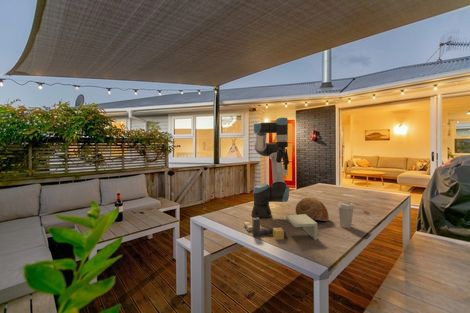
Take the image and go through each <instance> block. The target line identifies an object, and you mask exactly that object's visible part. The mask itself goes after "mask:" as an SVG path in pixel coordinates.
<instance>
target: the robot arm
mask: <svg viewBox="0 0 470 313" xmlns="http://www.w3.org/2000/svg"><path fill="white" fill-rule="evenodd" d="M288 128H289V121H288V117H277V118H276V119H275V121H274V122H273V121H271V122H270V121H269V122H255V123H254V124H253V133H254V134H256V135H255V137H256V139H255V144H254V149H255V151H256V153H257V154H258V155H260V156H261V157H262V156H263V157H268V158H269V159H270V160H271V171H272V172H271V173H272V183H271V186H270V184H268V183H263V184H257V185H254V186H253V192H252V194H253V207H252V210H251V217H252V218H255V217H256V218H257V217H259V219H260V218H264V219H269V218H271V217H272V210H271V207H270V203H287V202H288V201H289V199H290V187H289V186H288V185H287V184H288V183H287V182H285V177H284V176H288V174H289V172H288V170H289V168H288V166H289V164H290V161H289V160H290V159H289V152H288V146H289V142H288V141H289V134H288V133H289V129H288ZM267 134H275V135H276V136H275V138H276V142H266V141H267Z"/></svg>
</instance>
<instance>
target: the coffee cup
mask: <svg viewBox="0 0 470 313" xmlns="http://www.w3.org/2000/svg"><path fill="white" fill-rule="evenodd" d="M337 207H338V213H339V214H338V216H339V226H340V228H344V229H351V228H352V224H353V223H352V222H353V216H354V215H353V213H354V209H355V206H354V204H353V202H352V203H351V202H347V201H344V202H343V201H341V202H339V203H338V205H337Z"/></svg>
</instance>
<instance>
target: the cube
mask: <svg viewBox="0 0 470 313" xmlns="http://www.w3.org/2000/svg"><path fill="white" fill-rule="evenodd" d="M282 228H283V227H273V235H272V237H273V239H274V240H275V241H276V240H277V241H279V240H285V239H284V231H285V230H284V231H283V229H284V228H283V229H282Z"/></svg>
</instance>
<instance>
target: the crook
mask: <svg viewBox="0 0 470 313" xmlns="http://www.w3.org/2000/svg"><path fill="white" fill-rule="evenodd" d="M251 225H252V231H251V233H252V236H253V237H261V236H271V234H272V236H273V228H274V227H273V228H271V227H270V228H261V219H260V218H259V217H257V218H255V217H251ZM281 228H282V229H283V231H284V239H283V240H286V239H288V233H287V232H286V231H285V229H284V228H283V227H281Z"/></svg>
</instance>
